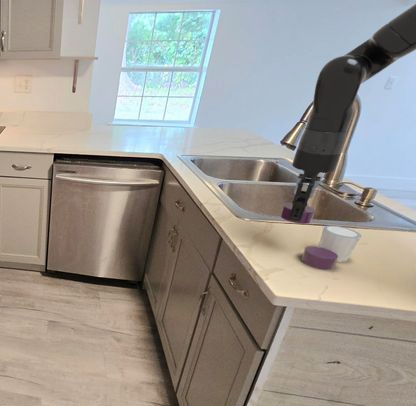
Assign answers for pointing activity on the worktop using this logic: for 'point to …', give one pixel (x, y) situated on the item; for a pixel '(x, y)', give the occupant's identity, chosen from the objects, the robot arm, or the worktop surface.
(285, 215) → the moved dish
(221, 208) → the worktop surface
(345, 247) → the shot glass
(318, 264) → the purple short cylinder
